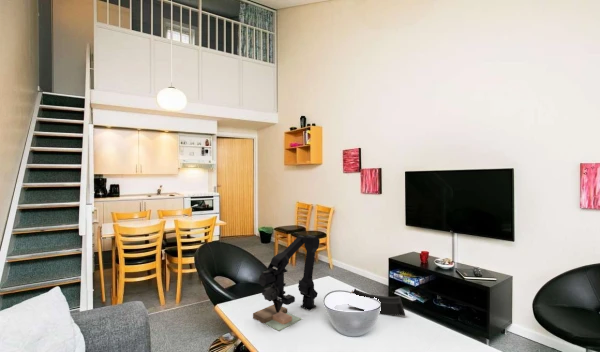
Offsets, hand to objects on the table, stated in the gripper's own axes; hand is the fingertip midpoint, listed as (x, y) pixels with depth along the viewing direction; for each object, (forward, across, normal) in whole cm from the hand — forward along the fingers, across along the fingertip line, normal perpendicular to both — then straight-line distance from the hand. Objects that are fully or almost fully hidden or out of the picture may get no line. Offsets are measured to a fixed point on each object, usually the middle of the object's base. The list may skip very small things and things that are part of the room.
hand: (277, 312), depth 155 cm
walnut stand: (+4, -5, 0) cm, 6 cm away
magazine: (+4, +32, +42) cm, 53 cm away
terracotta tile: (+3, +3, 0) cm, 4 cm away
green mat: (+4, +4, 0) cm, 6 cm away
